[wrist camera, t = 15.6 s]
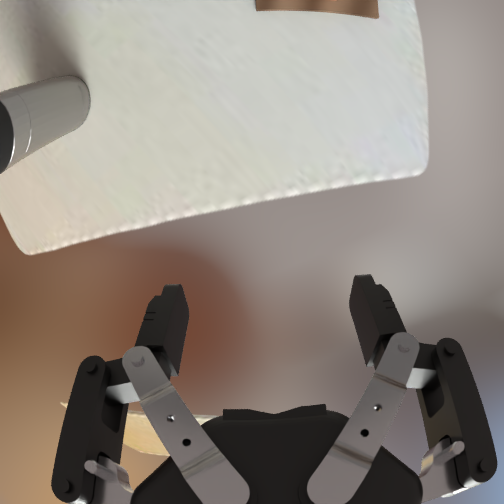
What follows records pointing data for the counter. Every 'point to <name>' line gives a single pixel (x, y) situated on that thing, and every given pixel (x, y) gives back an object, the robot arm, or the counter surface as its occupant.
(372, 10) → the brown bowl on base
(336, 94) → the counter surface
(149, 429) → the counter surface
